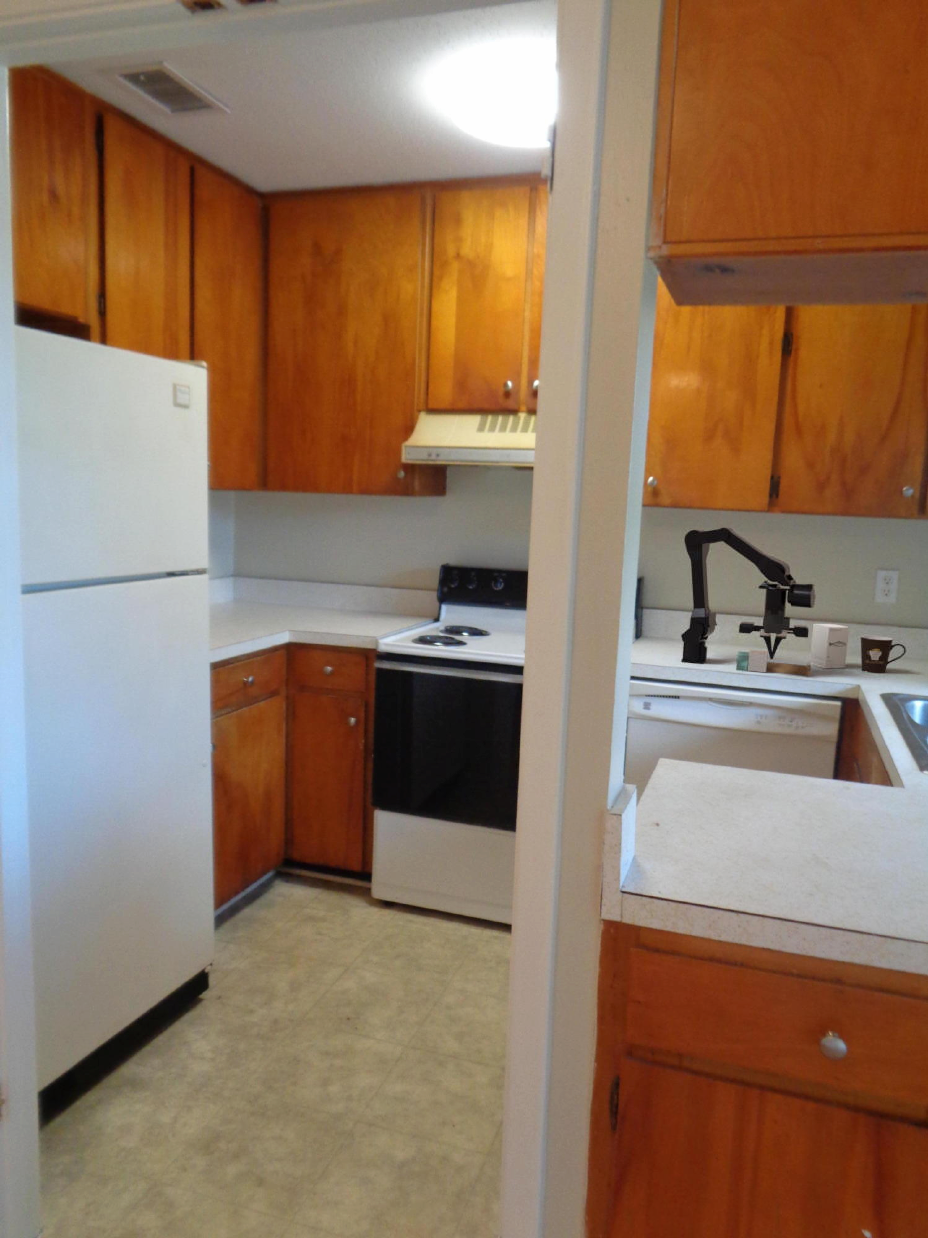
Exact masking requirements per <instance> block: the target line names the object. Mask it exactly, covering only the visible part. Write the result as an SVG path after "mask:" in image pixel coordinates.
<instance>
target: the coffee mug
mask: <svg viewBox="0 0 928 1238" xmlns="http://www.w3.org/2000/svg"><path fill="white" fill-rule="evenodd" d="M897 646H899V647H901V648H902V649H903V653H901V655H899V656H897V657H895V658H893V659H891V660H889V658H890V653H891V651H892V650H893V649H894V648H895V647H897ZM906 653H907V649H906V647H905V645H904V644H901V643H894V644H893V638H891V637H886V636H880V635H860V656H861V671H863V672H865V671H867V672H866V673H870V674H871V673H872V674H885V673H886V671H887V667H888V665H889V664H890V663H893V662H895V661H897V660H900V659H901V658H902V657H903V656H905V655H906Z"/></svg>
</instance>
